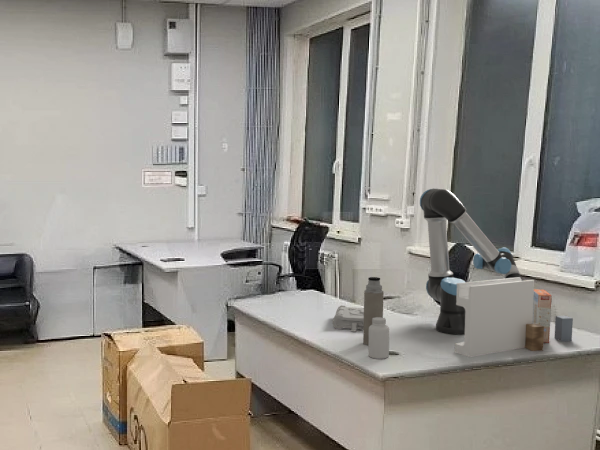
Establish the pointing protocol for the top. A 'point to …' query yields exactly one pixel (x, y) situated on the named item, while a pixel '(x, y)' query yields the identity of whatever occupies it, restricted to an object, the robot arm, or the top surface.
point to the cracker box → (542, 311)
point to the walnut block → (534, 337)
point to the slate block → (563, 328)
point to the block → (495, 315)
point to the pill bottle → (378, 339)
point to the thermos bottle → (372, 305)
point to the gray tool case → (349, 318)
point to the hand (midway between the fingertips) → (529, 319)
